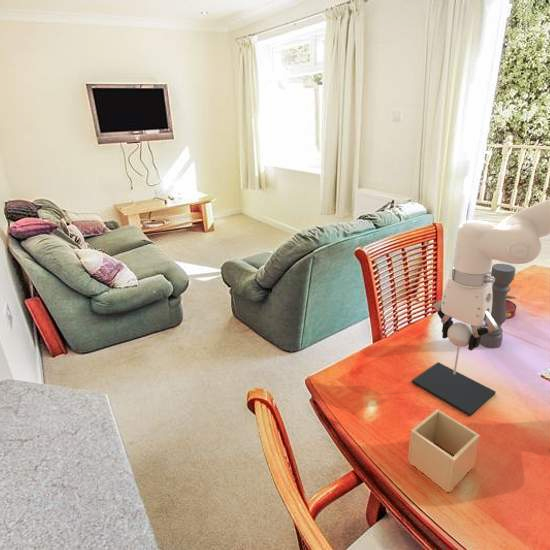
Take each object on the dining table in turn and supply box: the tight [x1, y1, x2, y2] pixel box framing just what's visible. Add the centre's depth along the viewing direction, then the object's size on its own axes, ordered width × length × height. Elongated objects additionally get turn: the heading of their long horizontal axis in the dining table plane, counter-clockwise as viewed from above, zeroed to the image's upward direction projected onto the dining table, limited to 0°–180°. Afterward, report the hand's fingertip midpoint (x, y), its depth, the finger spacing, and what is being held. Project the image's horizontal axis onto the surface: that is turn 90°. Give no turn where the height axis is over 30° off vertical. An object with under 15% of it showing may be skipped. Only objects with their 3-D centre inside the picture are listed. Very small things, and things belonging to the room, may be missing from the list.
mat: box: [411, 361, 497, 417], centre depth 98 cm, size 16×12×1 cm
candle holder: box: [479, 263, 516, 349], centre depth 110 cm, size 6×6×25 cm
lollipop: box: [447, 321, 473, 374], centre depth 93 cm, size 6×6×15 cm
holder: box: [407, 408, 481, 493], centre depth 76 cm, size 9×9×9 cm
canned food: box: [505, 294, 518, 320], centre depth 129 cm, size 11×10×10 cm
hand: (459, 341), depth 92 cm, fingers closed on lollipop, 6 cm apart
